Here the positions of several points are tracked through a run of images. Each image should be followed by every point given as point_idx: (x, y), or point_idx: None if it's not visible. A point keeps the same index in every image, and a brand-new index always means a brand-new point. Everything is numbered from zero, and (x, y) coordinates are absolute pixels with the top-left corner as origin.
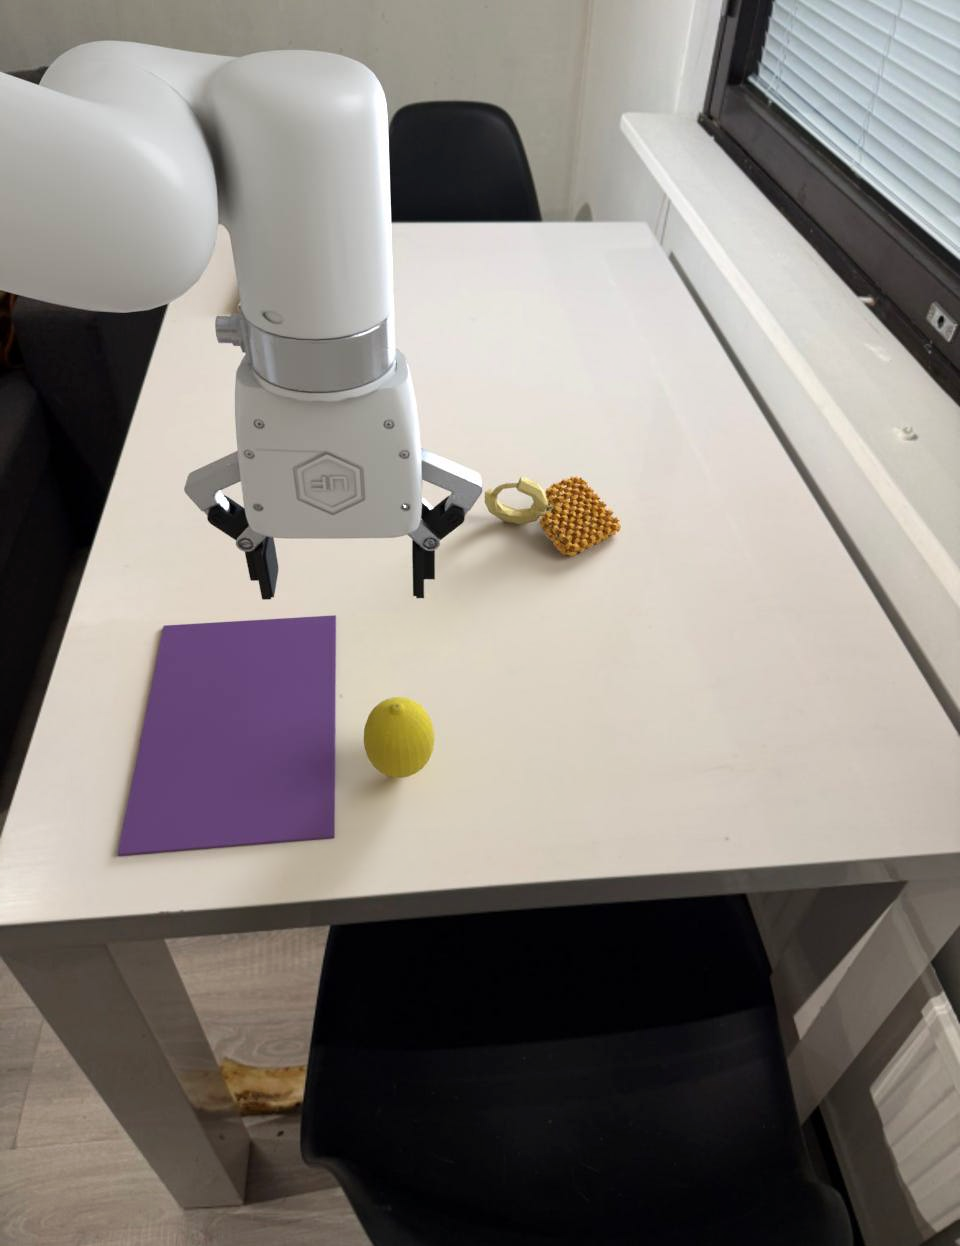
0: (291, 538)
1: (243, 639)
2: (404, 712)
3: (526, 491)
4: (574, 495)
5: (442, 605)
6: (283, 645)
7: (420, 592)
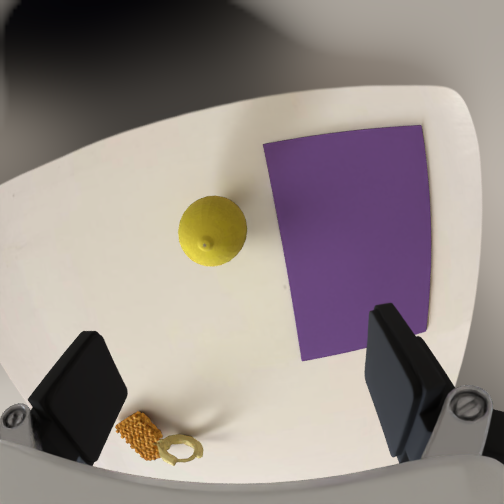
0: (352, 476)
1: None
2: (197, 239)
3: (169, 456)
4: (144, 449)
5: (218, 376)
6: (340, 329)
7: (81, 338)
